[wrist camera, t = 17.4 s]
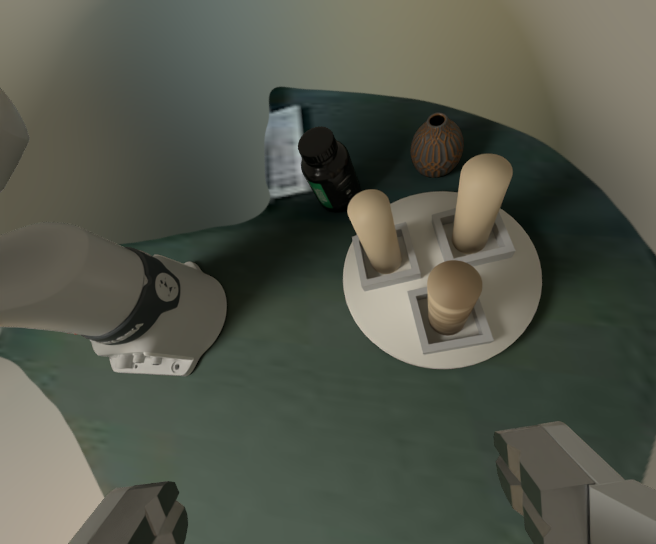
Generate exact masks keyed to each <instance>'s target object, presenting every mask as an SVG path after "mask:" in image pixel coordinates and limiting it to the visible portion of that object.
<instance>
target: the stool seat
mask: <svg viewBox="0 0 656 544" xmlns="http://www.w3.org/2000/svg"><path fill="white" fill-rule="evenodd" d="M512 174H513V170H512V166H511V164H510V163H509V162H508V161H507V160H506V159H505V158H503V157H501V156H499V155H495V154H481V155H478V156H475V157H473V158H471V159H470V160H468V161H467V162H466V163H465V164H464V166H463V168H462V170H461V175H460V183H459V190H458V193H457V192H446V191H441V192H427V193H420V194H416V195H412V196H408V197H406V198H403V199H400V200H398V201H396V202H394V203H391V204H390V202H389V199H388V197H387V196H386V195H385V194H384V193H383V192H381V191H379V190H374V189H369V190H364V191H362V192H360V193H358V194H356V195H355V196H354V197H353V198H352V199H351V201H350V203H349V205H348V210H347V212H348V216H349V218H350V221H351V223H352V225H353V227H354V229H355V231H356V233H357V235H356V236H353V237H352V240H353V241H352V243H351V246H350V248H349V250H348V253H347V256H346V259H345V264H344V270H343V286H344V294H345V298H346V302H347V305H348V307H349V310H350V313H351V315H352V316H353V318H354V320H355V322H356V323H357V325H358V326H359V328H360V329H361V330H362V332H363V333H364V334H365V335H366V336H367V337H368V338H369V339H370V340H371V341H372V342H373V343H374V344H376V345H377V346H378V347H379V348H381V349H382V350H383V351H384V352H386V353H388V354H389V355H391V356H393V357H394V358H396V359H399V360H401V361H403V362H405V363H408V364H411V365H415V366H418V367H423V368H429V369H445V370H446V369H457V368H463V367H467V366H471V365H475V364H477V363H480V362H482V361H485V360H487V359H489V358H491V357H493V356H495V355H496V354H498V353H500V352H502V351H503V350H504V349H506V348H507V347H508V346H510V345H511V344H512V343H514V342H515V340H516V339H517V338H518V337H519V336H520V335H521V334H522V333H523V332H524V331H525V329H526V328H527V326H528V325H529V324H530V322H531V320H532V318H533V316H534V314H535V312H536V310H537V307H538V304H539V300H540V297H541V289H542V271H541V266H540V261H539V257H538V255H537V252H536V249H535V247H534V245H533V243H532V241H531V240H530V238H529V236H528V235H527V233H526V232H525V231H524V229H523V228H522V227H521V226H520V225H519V224H518V223H517V222H516V221H515V220H514V219H513V218H512V217H511V216H510V215H509V214H507V213H506V212H505V211H503V210H502V209H500V207H501V204H502V201H503V199H504V196H505V193H506V191H507V188H508V186H509V183H510V180H511V178H512ZM449 260H458V261H463V262H466V263H468V264H470V265H471V266H473V267H474V268H475V269H476V270H477V271H478V273H479V274H480V276H481V279H482V284H483V285H482V292H481V294H480V296H479V298H478V300H477V302H476V304H475V306H474V308H473V310H472V311H471V313H470V315H469V317H468V319H467V321H466V323H465V325H464V327H463V328H462V330H461V331H460V332H458V333H457V334H454V335H450V336H446V335H441V334H439V333H437V332H436V331H434V330H433V329H432V327H431V326H430V324H429V320H428V291H427V281H428V277H429V274H430V272H431V271H432V270H433V268H434V267H436V266H437V265H438V264H440V263H442V262H445V261H449Z"/></svg>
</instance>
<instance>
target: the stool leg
mask: <svg viewBox="0 0 656 544" xmlns="http://www.w3.org/2000/svg"><path fill="white" fill-rule="evenodd" d="M482 285H483V284H482V279H481V276H480V274H479V273H478V271H477V270H476V269H475V268H474V267H473V266H471V265H470V264H468V263H466V262H463V261H458V260H449V261H445V262H442V263H440V264H438V265H437V266H436V267H434V268H433V270H432V271H431V272H430V274H429V277H428V281H427V291H428V320H429V324H430V326H431V327H432V329H433V330H434V331H436V332H437V333H439V334H441V335H446V336H450V335H454V334H457V333H458V332H460V331H461V330H462V328H463V327H464V325H465V323H466V321H467V319H468V317H469V315H470V313H471V311H472V310H473V308H474V306H475V304H476V302H477V300H478V298H479V296H480V294H481V292H482Z"/></svg>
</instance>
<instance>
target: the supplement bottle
mask: <svg viewBox="0 0 656 544" xmlns="http://www.w3.org/2000/svg"><path fill="white" fill-rule="evenodd" d="M298 150H299V153H300V154H301V157H302V162H301V169H302V173H303V175H304V177H305V178H306V180H307V182H308V183H309V185H310V187H311V188H312V190H313V192H314V193H315V195H316V197H317V199H318V200H319V202H320V203H321V205H322V206H323V207H324V208H325V209H326V210H328V211H330V212H343V211H346V210H348V205H349V203H350V201H351V199H352V198H353V197H354V196H355V195H356V194H358V193H360V191H361V190H360V184H359V181H358V178H357V176H356V173H355V170H354V167H353V164H352V161H351V158H350V156H349V153H348V150H347V148H346V147H345V146H344V145H343V144H342V143H340V142H339V141H336V139H335V137H334V135H333V133H332V132H331V130H330V129H328V128H326V127H315V128H312V129H310V130H308V131H307V132H305V134H303V136H302V137H301V139H300V140H299V143H298Z"/></svg>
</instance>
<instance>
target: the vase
mask: <svg viewBox="0 0 656 544" xmlns="http://www.w3.org/2000/svg"><path fill="white" fill-rule="evenodd" d="M463 147H464V141H463V136H462V132H461V130H460V128H459V127H458V125H457V124H456V123H454V122H453V121H452V120H450V119H448V117H447V116H446V115H445V114H444V113H434V114H432V115H431V116H429V118H428V119H427V121H426V122H425V123H424V124H423V125H422V126H420V128H419V129H418V130H417V131H416V133H415V135H414V137H413V140H412V144H411V158H412V162H413V164H414V166H415V168H416V169H417V170H418V171H419V172H420V173H421V174H422V175H424V176H427V177H432V178H436V177H441V176H444V175H446V174H448V173H450V172H451V171H452V170H453V169H454V168H455V167H456V166H457V164H458V163H459V161H460V159H461V156H462V153H463Z"/></svg>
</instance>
